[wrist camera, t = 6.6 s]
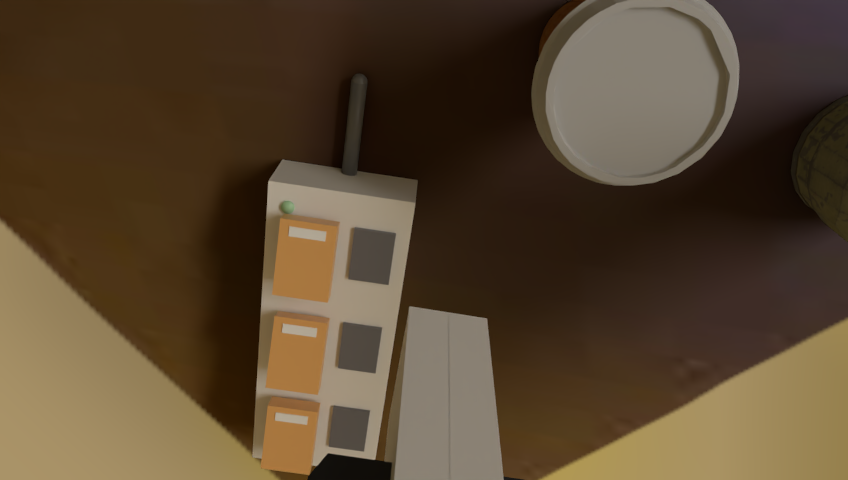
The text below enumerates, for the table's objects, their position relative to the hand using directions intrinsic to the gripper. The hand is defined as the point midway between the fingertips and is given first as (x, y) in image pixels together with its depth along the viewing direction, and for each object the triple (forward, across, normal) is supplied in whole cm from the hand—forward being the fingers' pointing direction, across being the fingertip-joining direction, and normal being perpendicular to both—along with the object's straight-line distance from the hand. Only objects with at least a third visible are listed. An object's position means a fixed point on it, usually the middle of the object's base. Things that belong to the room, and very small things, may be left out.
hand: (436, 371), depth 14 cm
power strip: (+32, -5, -16) cm, 36 cm away
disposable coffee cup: (+32, +9, +2) cm, 33 cm away
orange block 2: (+26, -6, -19) cm, 33 cm away
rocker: (+26, -6, -26) cm, 38 cm away
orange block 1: (+26, -6, -12) cm, 30 cm away
